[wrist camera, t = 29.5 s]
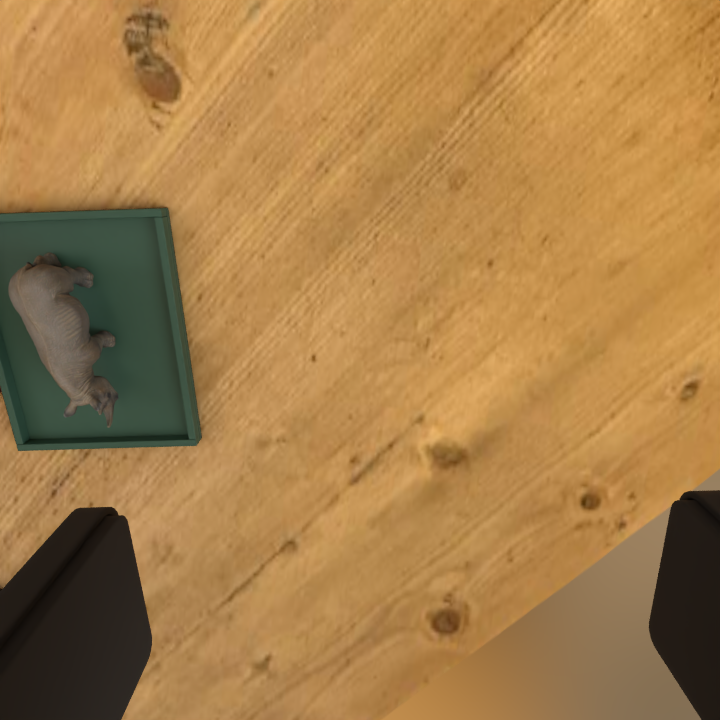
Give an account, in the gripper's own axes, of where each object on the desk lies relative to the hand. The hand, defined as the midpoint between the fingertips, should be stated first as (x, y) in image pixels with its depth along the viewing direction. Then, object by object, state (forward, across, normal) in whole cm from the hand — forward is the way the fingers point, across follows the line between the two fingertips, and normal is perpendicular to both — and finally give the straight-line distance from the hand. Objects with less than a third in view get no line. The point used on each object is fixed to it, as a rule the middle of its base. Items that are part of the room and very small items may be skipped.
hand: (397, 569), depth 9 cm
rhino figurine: (+32, +22, +4) cm, 39 cm away
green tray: (+32, +22, +4) cm, 40 cm away
